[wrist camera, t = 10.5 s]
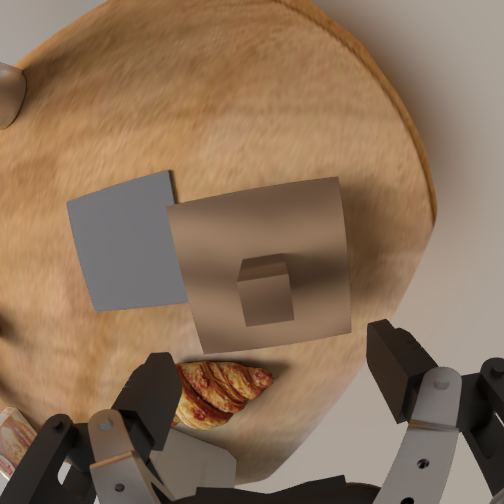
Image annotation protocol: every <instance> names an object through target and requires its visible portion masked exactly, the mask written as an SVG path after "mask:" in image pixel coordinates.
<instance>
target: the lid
mask: <svg viewBox="0 0 504 504" xmlns="http://www.w3.org/2000/svg"><path fill="white" fill-rule="evenodd" d="M166 208H167V213H168V218H169V223H170V228H171V232H172V237H173V241H174V246H175V250H176V254H177V258H178V263H179V267H180V271H181V275H182V279H183V282H184V286H185V290H186V294H187V298H188V301H189V305H190V309H191V312H192V316H193V319H194V323H195V326H196V329H197V333H198V336H199V339H200V343H201V346H202V349H203V352H204V354H212V353H223V352H233V351H242V350H251V349H259V348H267V347H274V346H281V345H287V344H293V343H299V342H305V341H311V340H316V339H322V338H327V337H332V336H337V335H342V334H347V333H351V301H350V282H349V267H348V254H347V243H346V233H345V224H344V216H343V208H342V200H341V193H340V186H339V179H338V177H330V178H322V179H315V180H307V181H300V182H293V183H287V184H280V185H274V186H268V187H262V188H256V189H250V190H244V191H239V192H233V193H228V194H223V195H218V196H213V197H208V198H203V199H198V200H193V201H188V202H184V203H179V204H175V205H170V206H166Z"/></svg>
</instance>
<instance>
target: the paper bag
mask: <svg viewBox="0 0 504 504" xmlns="http://www.w3.org/2000/svg"><path fill="white" fill-rule="evenodd" d="M150 457H151V458H152V460H153V462H154V464H155V466H156V467H157V469H158V471H159V473H160V475H161V477H162V478H163V480H164V482H165V483H166V485H167V487H168V489H169V490H170V492H171V493H172V494H173V496H174V497H175V498H176V499H180V498H183V497H187V496H192V495H195V493H196V488H197V487H214V488H234V485H235V475H236V465H237V460H236V459H235V458H234V457H233V456H232V455H231V454H230V453H229V452H228V451H227V450H225V449H223V448H220V447H217V446H214V445H212V444H209V443H206V442H204V441H201V440H199V439H196V438H194V437H191V436H189V435H186V434H184V433H182V432H179V431H177V430H175V429H173V428H170V431H169V434H168V437H167V440H166V443H165V446H164V449H163V451H154V450H151V453H150Z"/></svg>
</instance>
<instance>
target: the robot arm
mask: <svg viewBox="0 0 504 504" xmlns="http://www.w3.org/2000/svg"><path fill="white" fill-rule="evenodd" d="M25 91H26V80H25V77H24V76H23V75H22V69H19V68H16V67H13V66H10V65H7V64H4V63H1V62H0V129H5V128H6V127H8V126H9V125H10V124H11V123H12V121H13V120H14V119H15V117H16V115H17V114H18V112H19V109H20V107H21V105H22V102H23V99H24V96H25ZM366 357H367V363H368V367H369V369H370V371H371V373H372V375H373V377H374V379H375V381H376V382H377V384H378V387H379V389H380V391H381V392H382V394H383V396H384V398H385V400H386V402H387V404H388V406H389V408H390V411H391V413H392V415H393V416H394V419H395V421H396V422H397V424H399V423H402V422H405V421H407V422H408V424H409V425H408V428H407V430H406V433H405V436H404V438H403V441H402V443H401V446H400V448H399V451H398V453H397V456H396V458H395V460H394V462H393V465H392V467H391V469H390V471H389V473H388V475H387V477H386V480H385V482H384V483H383V486H382V487H378V486H375V485H371V484H365V483H353V482H352V483H351V482H350V483H346V481H345V476H344V475H340V476H336V477H331V478H326V479H321V480H316V481H309V482H305V483H303V484H300V485H297V486H294V487H291V488H288V489H284V490H281V491H278V492H274V493H271V494H264V493H258V492H251V491H245V490H240V489H235V488H214V487H197V488H196V493H195V495H192V496H187V497H183V498H180V499H176V498H175V497H174V496H173V494H172V493H171V492H170V490H169V489H168V487H167V485H166V483H165V482H164V480H163V478H162V477H161V475H160V473H159V471H158V469H157V467H156V466H155V464H154V462H153V460H152V458H151V457H150V453H151V450H154V451H163V449H164V446H165V443H166V440H167V437H168V434H169V431H170V428H171V425H172V422H173V419H174V416H175V413H176V410H177V407H178V404H179V401H180V398H181V395H182V390H183V387H182V381H181V379H180V376H179V374H178V371H177V369H176V366H175V364H174V361H173V359H172V356H171V354H170V353H168V352H161V353H151V354H150V355H149V357H148V358H147V360H146V362H145V363H144V364H142V365H140V366H139V367H138V368H137V369H136V370H134V371H133V373H132V374H131V376H130V378H129V379H128V381H127V382H126V384H125V386H124V387H125V388H123V389H122V391H121V392H120V394H119V396H118V397H117V399H116V401H115V402H114V404H113V406H112V408H111V409H105V410H101V411H99V412H97V413H95V414H94V415H93V416H92V417H91V418H90V420H89V422H88V423H78V424H74V423H73V421H72V420H71V419H70V417H69V416H68V415H66V414H56V415H54V416H52V417H50V418H49V419H48V420H47V421H46V422H45V424H44V425H43V426H42V428H41V430H40V431H39V433H38V434H37V436H36V437H35V439H34V440H33V442H32V443H31V445H30V447H29V448H28V450H27V451H26V453H25V455H24V456H23V458H22V459H21V461H20V463H19V464H18V466H17V468H16V469H15V471H14V473H13V475H12V476H11V478H10V480H9V482H8V483H7V485H6V487H5V489H4V491H3V493H2V495H1V496H0V504H93V503H94V501H95V498H96V495H97V496H98V499H99V503H100V504H439V502H440V499H441V496H442V494H443V491H444V488H445V485H446V482H447V478H448V475H449V472H450V468H451V464H452V461H453V457H454V453H455V448H456V444H457V439H458V434H459V432H462V434H463V435H464V437H465V439H466V441H467V443H468V445H469V447H470V449H471V451H472V453H473V455H474V457H475V459H476V461H477V463H478V465H479V467H480V469H481V471H482V473H483V475H484V478H485V480H486V482H487V484H488V486H489V489H490V491H491V494H492V496H493V498H492V500H491V502H490V504H504V427H503V425H502V424H501V422H500V421H499V419H498V418H497V416H496V415H495V414H496V413H497V414H498V416H499V417H500V418H501V420H502V422H503V423H504V359H503V358H490V359H488V360H486V361H485V362H484V363H483V365H482V367H481V370H480V372H479V373H474V374H469V375H463V376H460V374H459V373H458V372H457V371H455V370H454V369H452V368H449V367H439V366H438V365H437V364H436V362H435V361H434V360H433V359H432V358H431V357H430V355H429V354H428V353H427V352H426V351H425V350H424V348H423V347H421V345H420V344H419V343H418V342H417V341H416V339H415V338H414V337H413V336H412V335H411V333H410V332H407V331H406V330H404V329H402V328H396V329H395V328H394V327H393V326H392V325H391V324H390V322H389V321H388V320H387V319H383V320H379V321H375V322H371V323H369V324H368V326H367V351H366ZM65 458H66V459H67V460H68V461H69V462H70V463H71V464H72V465H71V467H70V469H69V472H68V473H67V476H66V478H65V480H64V482H63V484H62V485H61V484H60V482H59V481H58V472H59V470H60V468H61V466H62V464H63V462H64V460H65Z"/></svg>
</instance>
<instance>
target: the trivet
mask: <svg viewBox="0 0 504 504" xmlns="http://www.w3.org/2000/svg"><path fill="white" fill-rule="evenodd" d="M66 204H67V209H68V214H69V219H70V224H71V229H72V233H73V238H74V242H75V246H76V250H77V254H78V258H79V261H80V265H81V268H82V272H83V275H84V278H85V282H86V285H87V288H88V291H89V294H90V297H91V300H92V303H93V306H94V309H95V311H96V312H97V311H109V310H120V309H131V308H141V307H151V306H160V305H169V304H177V303H186V302H189V301H188V298H187V294H186V290H185V286H184V282H183V279H182V275H181V271H180V267H179V263H178V258H177V254H176V250H175V246H174V241H173V237H172V232H171V228H170V223H169V218H168V213H167V208H166V206H170V205H175V204H176V203H175V198H174V193H173V188H172V182H171V177H170V171H169V170H166V171H162V172H159V173H155V174H151V175H148V176H144V177H141V178H137V179H134V180H131V181H127V182H124V183H121V184H118V185H114V186H111V187H108V188H105V189H102V190H99V191H96V192H94V193H91V194H88V195H85V196H82V197H79V198H77V199H74V200H71V201H69V202H66Z"/></svg>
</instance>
